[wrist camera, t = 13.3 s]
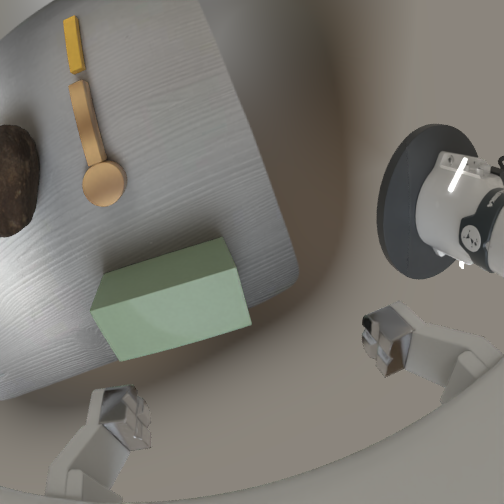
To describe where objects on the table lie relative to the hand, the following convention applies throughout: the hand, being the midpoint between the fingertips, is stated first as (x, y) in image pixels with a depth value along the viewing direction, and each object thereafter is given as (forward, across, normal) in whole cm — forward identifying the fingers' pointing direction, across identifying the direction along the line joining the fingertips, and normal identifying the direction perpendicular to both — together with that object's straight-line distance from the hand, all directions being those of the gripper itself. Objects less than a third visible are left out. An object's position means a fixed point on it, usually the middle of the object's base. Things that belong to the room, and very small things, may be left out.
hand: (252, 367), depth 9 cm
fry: (+25, +10, -21) cm, 34 cm away
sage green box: (+25, +6, +9) cm, 27 cm away
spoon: (+25, +10, -9) cm, 28 cm away
